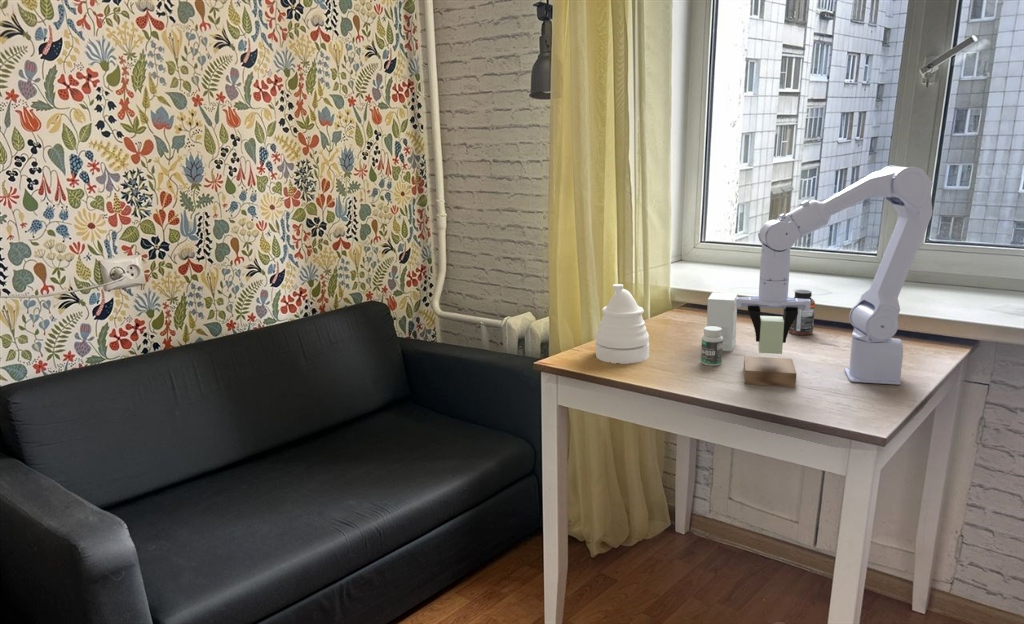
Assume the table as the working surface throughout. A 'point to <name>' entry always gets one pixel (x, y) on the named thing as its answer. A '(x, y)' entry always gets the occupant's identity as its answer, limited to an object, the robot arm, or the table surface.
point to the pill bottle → (712, 346)
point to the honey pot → (622, 330)
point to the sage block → (771, 334)
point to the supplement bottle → (803, 315)
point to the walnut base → (769, 371)
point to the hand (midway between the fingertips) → (770, 341)
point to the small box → (723, 316)
